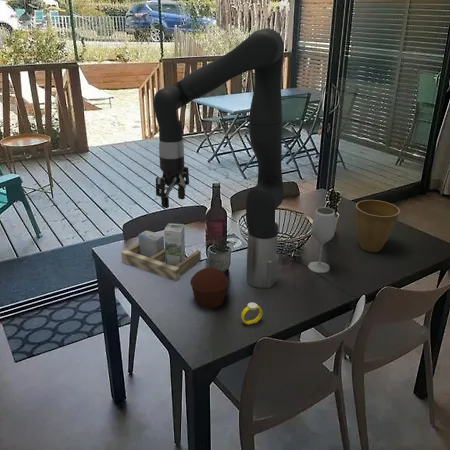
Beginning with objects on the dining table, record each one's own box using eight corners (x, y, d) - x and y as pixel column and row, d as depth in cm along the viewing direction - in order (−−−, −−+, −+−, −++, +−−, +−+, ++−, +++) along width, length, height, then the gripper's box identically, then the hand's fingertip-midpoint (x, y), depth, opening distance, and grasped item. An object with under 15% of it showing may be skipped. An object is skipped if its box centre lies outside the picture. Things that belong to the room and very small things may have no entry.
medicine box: (165, 257, 170) (164, 235, 166) (157, 262, 166) (155, 240, 162) (147, 251, 173) (146, 229, 170) (139, 256, 170) (137, 234, 166)
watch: (258, 318, 139) (260, 300, 137) (262, 323, 137) (265, 305, 134) (239, 321, 137) (241, 303, 134) (243, 327, 134) (245, 309, 132)
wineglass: (334, 267, 165) (341, 210, 156) (322, 275, 160) (329, 217, 151) (315, 259, 170) (321, 204, 161) (303, 267, 165) (308, 210, 155)
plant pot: (376, 261, 169) (383, 220, 162) (342, 245, 179) (347, 205, 172) (400, 249, 177) (408, 209, 170) (366, 234, 188) (372, 196, 181)
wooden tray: (202, 261, 167) (201, 251, 165) (176, 281, 156) (175, 270, 154) (150, 244, 178) (149, 235, 176) (122, 262, 166) (121, 252, 164)
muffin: (204, 285, 154) (204, 258, 149) (235, 295, 149) (235, 267, 144) (183, 304, 144) (182, 275, 140) (214, 315, 139) (215, 286, 135)
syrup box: (185, 261, 167) (184, 223, 161) (182, 270, 162) (181, 231, 156) (169, 260, 168) (167, 222, 162) (165, 268, 163) (163, 229, 156)
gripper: (167, 162, 141) (169, 213, 148) (195, 150, 152) (196, 198, 159) (147, 158, 144) (150, 208, 151) (175, 146, 156) (177, 193, 162)
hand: (173, 203), depth 155 cm, fingers open, 8 cm apart
